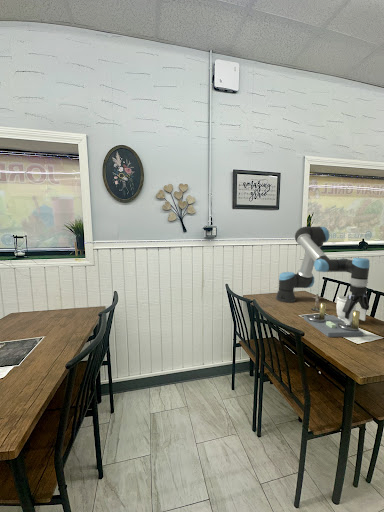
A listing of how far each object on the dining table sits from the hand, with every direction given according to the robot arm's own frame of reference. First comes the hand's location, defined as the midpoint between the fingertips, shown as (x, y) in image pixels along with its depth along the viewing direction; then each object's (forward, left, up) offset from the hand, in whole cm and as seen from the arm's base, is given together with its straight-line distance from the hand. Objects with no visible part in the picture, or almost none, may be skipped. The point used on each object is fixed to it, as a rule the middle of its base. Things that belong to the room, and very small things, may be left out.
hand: (354, 321), depth 124 cm
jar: (-18, +9, -8) cm, 22 cm away
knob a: (-15, -13, -4) cm, 21 cm away
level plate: (-9, -7, -7) cm, 14 cm away
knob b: (-3, -1, -4) cm, 6 cm away
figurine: (-37, +2, -8) cm, 38 cm away
